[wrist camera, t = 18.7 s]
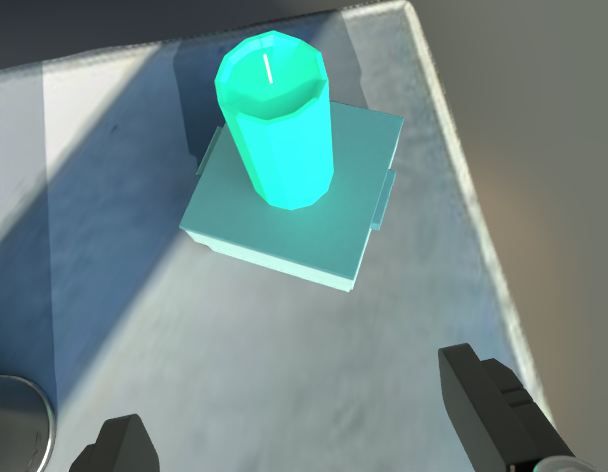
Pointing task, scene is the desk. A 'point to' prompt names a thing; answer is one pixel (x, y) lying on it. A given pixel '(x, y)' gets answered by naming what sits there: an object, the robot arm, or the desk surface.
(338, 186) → the food tub
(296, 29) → the desk surface
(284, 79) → the candle
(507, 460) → the robot arm
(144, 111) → the desk surface
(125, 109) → the desk surface
